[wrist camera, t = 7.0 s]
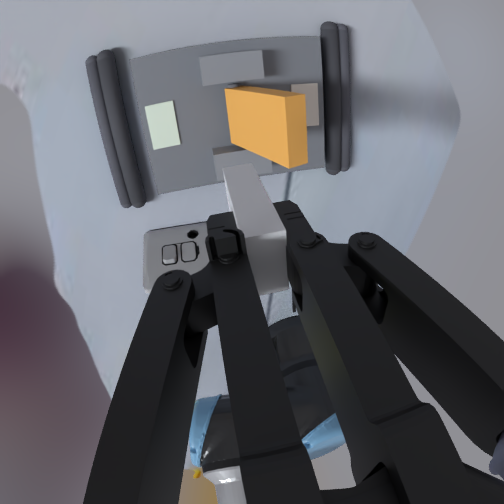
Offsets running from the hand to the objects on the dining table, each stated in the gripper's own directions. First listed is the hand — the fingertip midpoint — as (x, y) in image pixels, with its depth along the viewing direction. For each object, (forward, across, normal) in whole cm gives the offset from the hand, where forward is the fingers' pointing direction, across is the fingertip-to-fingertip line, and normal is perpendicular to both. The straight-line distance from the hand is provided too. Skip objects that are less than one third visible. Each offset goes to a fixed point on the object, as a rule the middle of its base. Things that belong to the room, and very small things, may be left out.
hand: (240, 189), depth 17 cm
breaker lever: (+18, -2, 0) cm, 18 cm away
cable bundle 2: (+22, -14, 0) cm, 26 cm away
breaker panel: (+22, -2, 0) cm, 22 cm away
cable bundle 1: (+22, +11, 0) cm, 25 cm away
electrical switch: (+23, +7, +17) cm, 29 cm away
